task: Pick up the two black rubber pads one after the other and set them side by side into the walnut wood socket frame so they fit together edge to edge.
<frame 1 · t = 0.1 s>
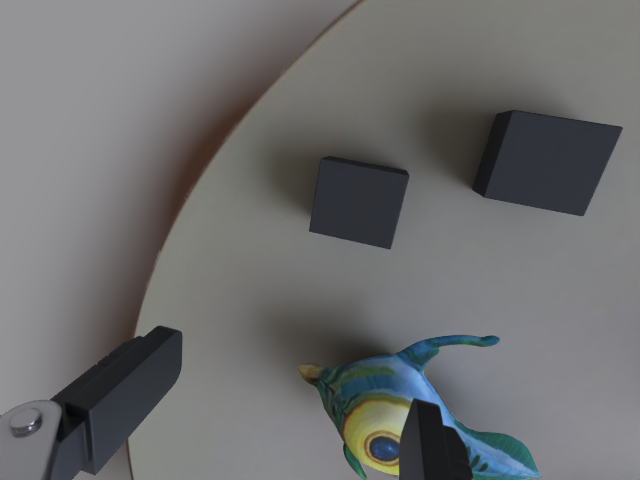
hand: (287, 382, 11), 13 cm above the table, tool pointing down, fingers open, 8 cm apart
pad b: (528, 160, 19), on the table
decorative fish: (416, 382, 25), on the table
pad a: (360, 197, 21), on the table
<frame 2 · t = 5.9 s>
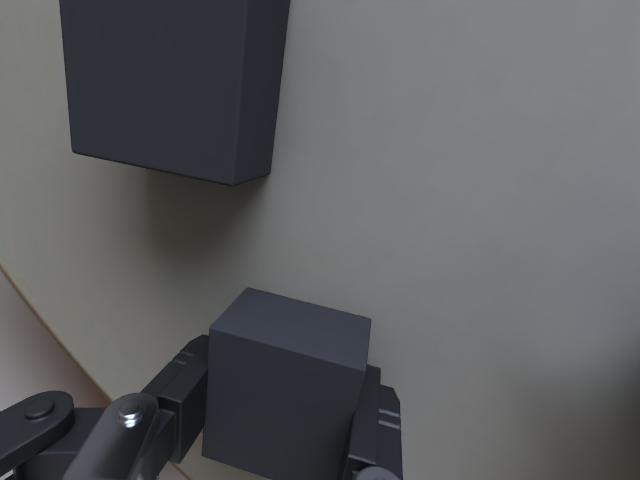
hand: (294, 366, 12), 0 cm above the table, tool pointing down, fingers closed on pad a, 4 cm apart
pad b: (209, 75, 10), on the table
pad a: (297, 361, 12), on the table, touching gripper
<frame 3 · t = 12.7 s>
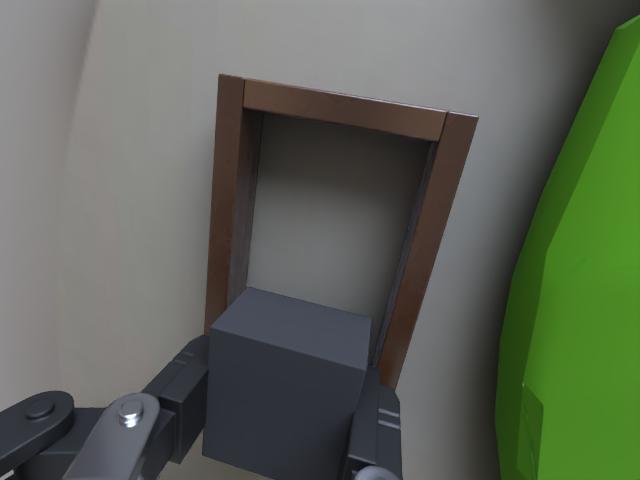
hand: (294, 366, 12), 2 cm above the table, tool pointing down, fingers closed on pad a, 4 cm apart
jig: (317, 278, 13), on the table
pad a: (297, 360, 12), point 2 cm above the table, touching gripper
when the fingers open (2 cm above the table, at t = 16.7 s): pad a drops 2 cm, resting in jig.
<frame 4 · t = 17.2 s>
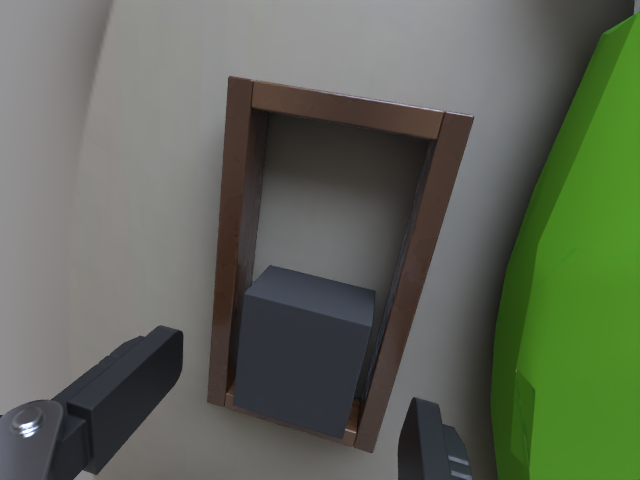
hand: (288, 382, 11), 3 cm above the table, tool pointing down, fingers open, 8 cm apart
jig: (320, 271, 13), on the table
pad a: (311, 329, 14), resting in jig
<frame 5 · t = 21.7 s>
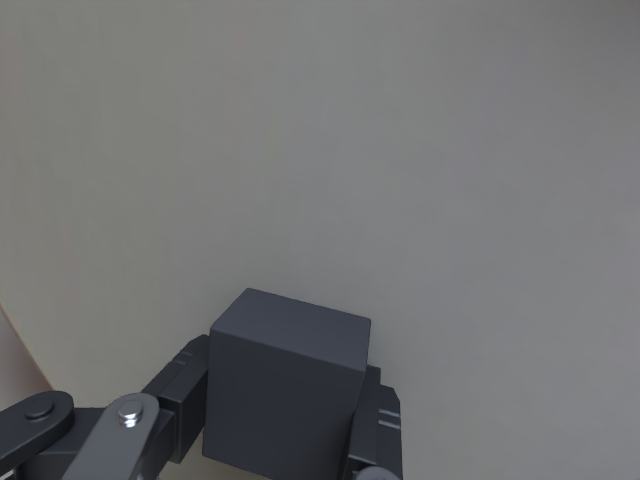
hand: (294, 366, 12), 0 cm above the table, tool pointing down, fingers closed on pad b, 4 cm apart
pad b: (297, 361, 12), on the table, touching gripper
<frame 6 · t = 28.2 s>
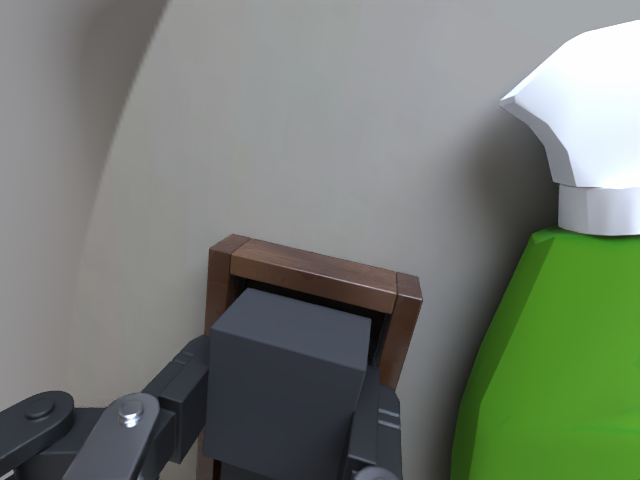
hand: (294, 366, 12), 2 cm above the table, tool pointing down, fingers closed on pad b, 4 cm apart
pad b: (297, 361, 12), point 2 cm above the table, touching gripper
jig: (297, 387, 14), on the table
pad a: (291, 433, 15), resting in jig
spray bottle: (593, 403, 12), on the table
when the fingers open (2 cm above the table, at t = 32.2 s): pad b drops 2 cm, resting in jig.
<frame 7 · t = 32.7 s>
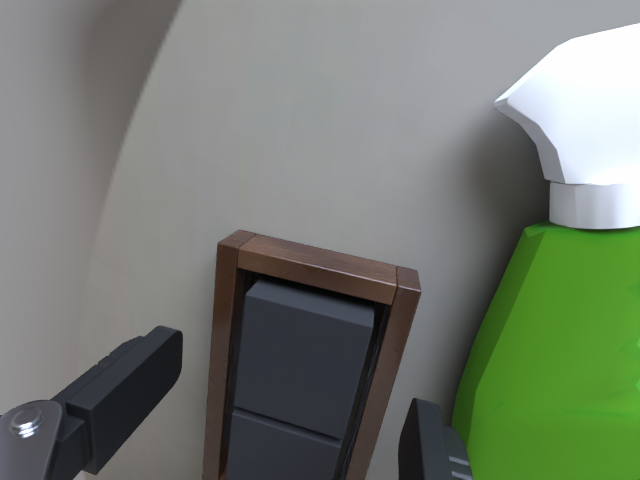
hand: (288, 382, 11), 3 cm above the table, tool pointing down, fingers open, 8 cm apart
pad b: (312, 329, 14), resting in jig
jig: (301, 378, 15), on the table
pad a: (294, 423, 16), resting in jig
spray bottle: (584, 392, 13), on the table
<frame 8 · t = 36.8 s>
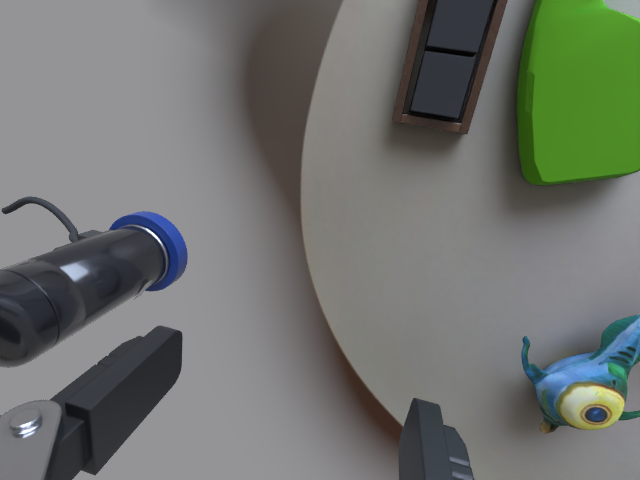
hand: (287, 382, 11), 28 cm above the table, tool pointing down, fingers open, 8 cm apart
pad b: (454, 25, 30), resting in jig
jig: (445, 57, 31), on the table
decorative fish: (569, 356, 38), on the table
pad a: (438, 88, 32), resting in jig
spray bottle: (580, 38, 29), on the table
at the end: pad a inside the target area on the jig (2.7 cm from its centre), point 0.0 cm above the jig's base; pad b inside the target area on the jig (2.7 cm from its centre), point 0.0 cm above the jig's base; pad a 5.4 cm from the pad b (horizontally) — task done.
